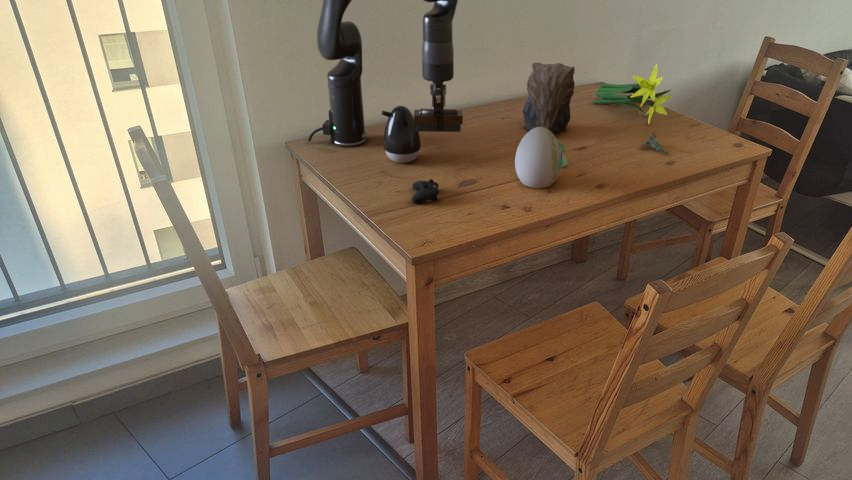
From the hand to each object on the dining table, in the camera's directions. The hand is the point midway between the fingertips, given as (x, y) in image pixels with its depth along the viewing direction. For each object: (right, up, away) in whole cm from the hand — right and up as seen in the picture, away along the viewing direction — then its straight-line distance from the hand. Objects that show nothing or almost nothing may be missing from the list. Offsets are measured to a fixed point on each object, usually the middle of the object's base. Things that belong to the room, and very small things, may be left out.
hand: (438, 126), depth 171 cm
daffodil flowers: (+58, +17, +58) cm, 84 cm away
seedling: (+31, -6, +20) cm, 38 cm away
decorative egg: (+25, -13, +9) cm, 30 cm away
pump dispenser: (-12, -5, +18) cm, 22 cm away
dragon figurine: (+62, 0, +31) cm, 69 cm away
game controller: (-3, -18, -1) cm, 18 cm away
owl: (+30, +8, +41) cm, 52 cm away
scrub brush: (0, 0, 0) cm, 0 cm away
